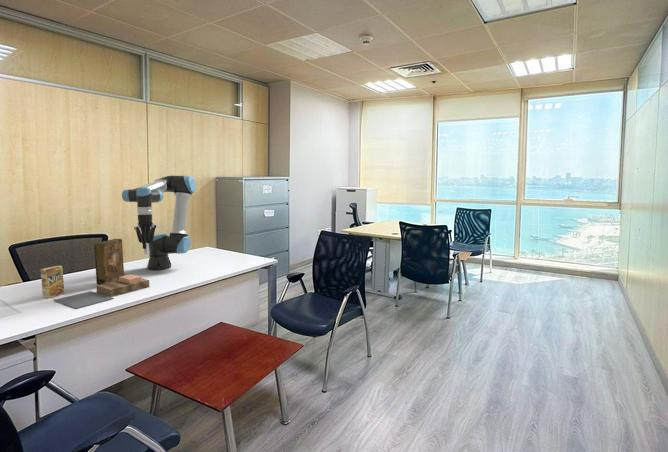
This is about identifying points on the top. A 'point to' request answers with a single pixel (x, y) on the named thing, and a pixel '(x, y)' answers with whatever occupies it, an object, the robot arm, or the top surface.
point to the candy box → (52, 281)
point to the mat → (83, 299)
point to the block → (130, 279)
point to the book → (108, 261)
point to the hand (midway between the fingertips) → (146, 254)
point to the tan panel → (120, 287)
